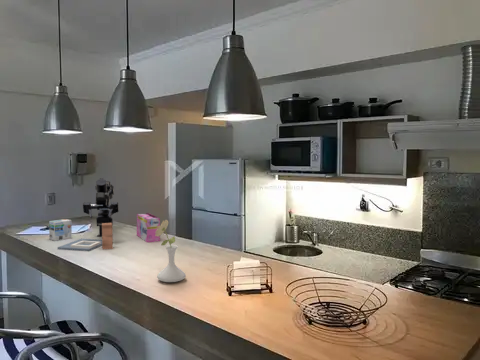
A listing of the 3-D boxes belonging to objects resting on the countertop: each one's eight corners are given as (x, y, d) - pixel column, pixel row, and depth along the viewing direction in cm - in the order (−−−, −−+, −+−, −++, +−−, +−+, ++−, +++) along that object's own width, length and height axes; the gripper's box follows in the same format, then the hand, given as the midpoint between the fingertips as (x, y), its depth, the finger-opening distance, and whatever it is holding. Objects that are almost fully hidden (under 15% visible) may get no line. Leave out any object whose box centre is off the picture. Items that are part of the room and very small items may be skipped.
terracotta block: (102, 247, 215) (101, 223, 214) (111, 246, 216) (111, 222, 216) (102, 249, 210) (102, 224, 209) (112, 248, 212) (112, 224, 211)
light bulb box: (54, 241, 228) (54, 222, 227) (48, 239, 232) (48, 221, 231) (72, 238, 236) (72, 220, 236) (66, 236, 240) (66, 218, 240)
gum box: (135, 234, 248) (135, 213, 247) (148, 233, 252) (148, 212, 251) (146, 242, 228) (146, 218, 227) (160, 241, 232) (160, 218, 231)
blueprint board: (81, 240, 231) (81, 236, 231) (110, 241, 227) (110, 238, 227) (57, 249, 209) (57, 245, 209) (89, 251, 206) (89, 246, 206)
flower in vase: (172, 274, 169) (173, 215, 167) (191, 279, 162) (192, 218, 160) (147, 281, 159) (147, 219, 157) (166, 288, 152) (166, 222, 150)
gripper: (83, 188, 224) (80, 206, 212) (118, 188, 228) (117, 206, 216) (85, 203, 230) (82, 222, 218) (119, 202, 235) (118, 221, 223)
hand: (100, 217), depth 219 cm, fingers open, 9 cm apart
